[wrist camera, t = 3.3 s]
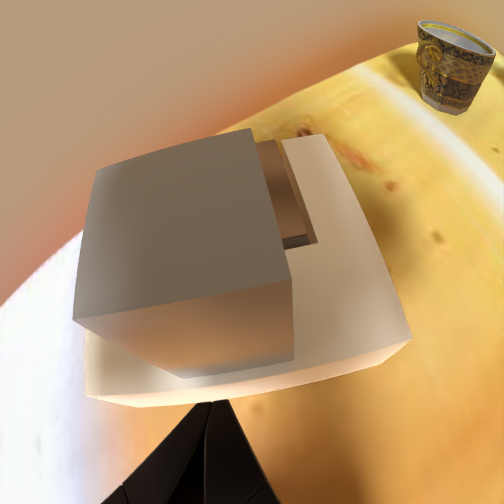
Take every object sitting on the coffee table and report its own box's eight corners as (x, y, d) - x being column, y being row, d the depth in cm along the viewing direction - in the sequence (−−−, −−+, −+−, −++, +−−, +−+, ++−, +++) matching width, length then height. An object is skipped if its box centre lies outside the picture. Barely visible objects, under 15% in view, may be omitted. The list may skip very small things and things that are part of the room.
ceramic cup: (434, 78, 34) (444, 20, 26) (488, 115, 29) (507, 54, 21) (377, 93, 32) (384, 21, 24) (439, 138, 27) (461, 59, 19)
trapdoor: (310, 251, 16) (310, 242, 16) (144, 285, 17) (138, 278, 16) (275, 148, 21) (274, 139, 20) (149, 178, 21) (145, 170, 21)
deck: (380, 363, 18) (412, 338, 12) (137, 407, 18) (85, 395, 13) (321, 190, 25) (323, 133, 20) (135, 231, 26) (103, 185, 21)
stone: (294, 360, 13) (291, 279, 6) (183, 378, 13) (72, 319, 6) (272, 261, 16) (250, 127, 9) (175, 281, 16) (97, 170, 9)
